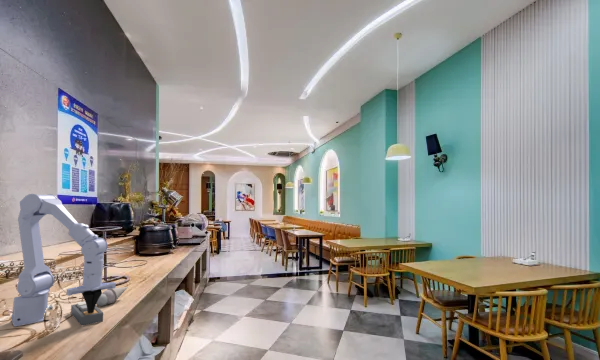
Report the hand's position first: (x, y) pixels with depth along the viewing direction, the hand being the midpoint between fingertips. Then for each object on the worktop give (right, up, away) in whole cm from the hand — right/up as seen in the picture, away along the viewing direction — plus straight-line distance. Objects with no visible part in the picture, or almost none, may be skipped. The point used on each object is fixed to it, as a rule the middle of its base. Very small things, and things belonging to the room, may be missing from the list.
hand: (90, 312), depth 114 cm
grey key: (-4, 0, +3) cm, 5 cm away
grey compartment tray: (-4, -3, +3) cm, 6 cm away
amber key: (0, -1, 0) cm, 1 cm away
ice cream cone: (-4, -4, +21) cm, 21 cm away
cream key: (-7, -1, +7) cm, 10 cm away
